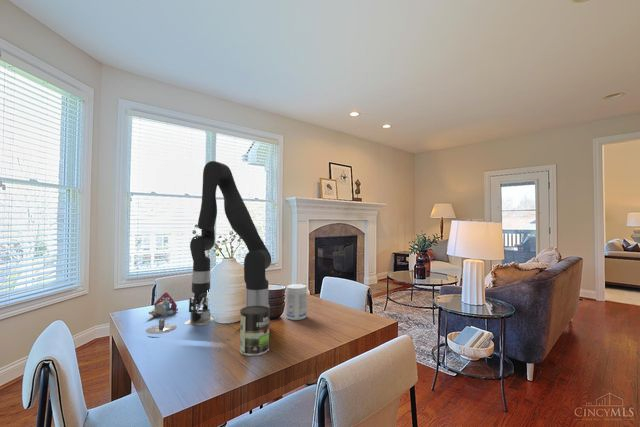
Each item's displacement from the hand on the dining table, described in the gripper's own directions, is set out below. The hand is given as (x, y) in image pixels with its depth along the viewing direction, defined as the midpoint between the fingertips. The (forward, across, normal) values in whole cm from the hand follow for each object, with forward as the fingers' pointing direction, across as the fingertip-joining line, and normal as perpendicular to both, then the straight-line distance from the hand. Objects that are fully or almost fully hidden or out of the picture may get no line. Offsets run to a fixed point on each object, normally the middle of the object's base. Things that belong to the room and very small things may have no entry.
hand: (200, 318), depth 133 cm
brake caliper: (+3, +6, +21) cm, 22 cm away
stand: (+2, 0, 0) cm, 2 cm away
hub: (+2, -12, +10) cm, 16 cm away
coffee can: (+2, -21, -32) cm, 39 cm away
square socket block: (+1, 0, 0) cm, 1 cm away
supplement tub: (+2, +16, -39) cm, 42 cm away
